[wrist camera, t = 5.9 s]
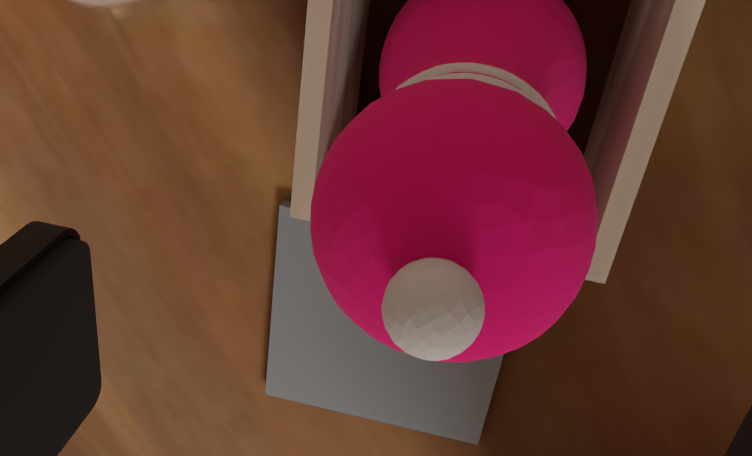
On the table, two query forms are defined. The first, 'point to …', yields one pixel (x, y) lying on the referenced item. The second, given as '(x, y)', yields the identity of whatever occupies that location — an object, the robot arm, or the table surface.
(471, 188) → the pepper mill
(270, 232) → the table surface
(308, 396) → the mat
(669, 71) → the crate
